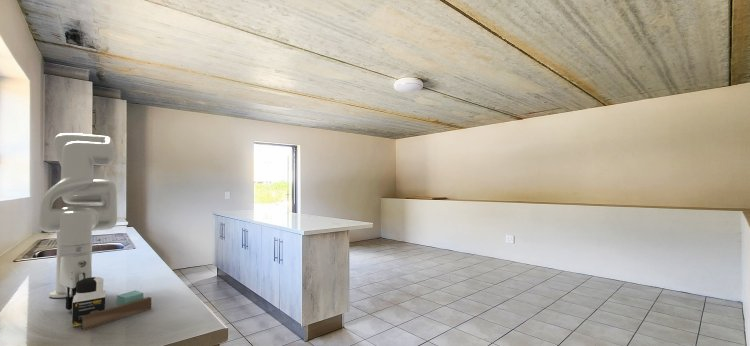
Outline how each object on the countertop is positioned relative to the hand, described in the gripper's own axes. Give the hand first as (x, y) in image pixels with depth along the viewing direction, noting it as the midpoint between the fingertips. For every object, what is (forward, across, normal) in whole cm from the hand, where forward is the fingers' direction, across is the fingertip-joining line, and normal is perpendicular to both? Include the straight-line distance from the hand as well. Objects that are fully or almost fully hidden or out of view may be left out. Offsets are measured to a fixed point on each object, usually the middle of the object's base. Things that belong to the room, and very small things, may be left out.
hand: (73, 307), depth 101 cm
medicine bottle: (+1, -12, +1) cm, 13 cm away
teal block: (+1, -15, -9) cm, 17 cm away
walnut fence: (+1, -19, -4) cm, 19 cm away
